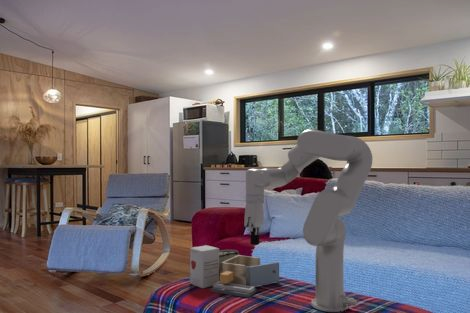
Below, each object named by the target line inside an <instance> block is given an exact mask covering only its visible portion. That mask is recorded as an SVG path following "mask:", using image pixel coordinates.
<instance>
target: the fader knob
mask: <svg viewBox="0 0 470 313" xmlns="http://www.w3.org/2000/svg"><path fill="white" fill-rule="evenodd" d="M219 281H220V282H221V283H225V285H229V282H231V281H233V272H230V271H225V272H223V273H221V274H220V276H219Z"/></svg>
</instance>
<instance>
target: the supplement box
mask: <svg viewBox="0 0 470 313" xmlns="http://www.w3.org/2000/svg"><path fill="white" fill-rule="evenodd" d="M189 250H190V251H189V254H190V256H189V259H190V260H189V262H190V264H189V266H190V268H189V270H190V271H189V272H190V273H189V280H190V281H189V284H191V285H193V286H195V287H198V288H200V289H205V288H209V287H213V284H214V283H216V282H218V281H220V276H219V251H220V248H218V247H215V246H212V245H211V246H210V245H207V244H205V245H200V246H193V247H190V249H189Z"/></svg>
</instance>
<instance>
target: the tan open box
mask: <svg viewBox="0 0 470 313" xmlns="http://www.w3.org/2000/svg"><path fill="white" fill-rule="evenodd" d="M257 265H261V257H257V256H247V255H241V254H239V255H237V256H235V257H232V258H230V259H228V260H226V261H223V262H221V263H220V274H221V273H223V272H225V271H230V272H233V281H231V282H229V283H233V284H240V285H246V266H248V267H251V266H257Z"/></svg>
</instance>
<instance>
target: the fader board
mask: <svg viewBox="0 0 470 313" xmlns="http://www.w3.org/2000/svg"><path fill="white" fill-rule="evenodd" d="M210 292H212V293H216V294H224V295H230V296H236V297H241V298H247V299H248V298H250V297H251V296H253V295H254V294H256V293H258V289H257V287H256V286H255V287H253V286H247V285H240V284H233V283H229V285H225V283H221V282H220V280H219V281H218V282H216V283H214V284H213V286H212V287H211V288H210Z"/></svg>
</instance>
